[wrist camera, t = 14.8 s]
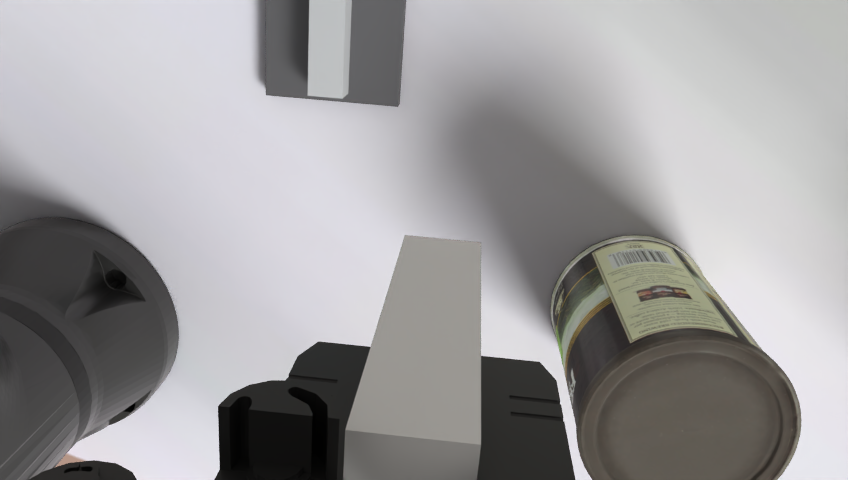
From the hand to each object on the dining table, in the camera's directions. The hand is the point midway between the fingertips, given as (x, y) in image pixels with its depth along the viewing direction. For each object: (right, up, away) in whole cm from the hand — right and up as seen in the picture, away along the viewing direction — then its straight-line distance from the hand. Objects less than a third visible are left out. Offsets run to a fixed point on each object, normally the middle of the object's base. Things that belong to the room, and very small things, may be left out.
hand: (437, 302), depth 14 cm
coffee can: (+13, -3, +33) cm, 35 cm away
